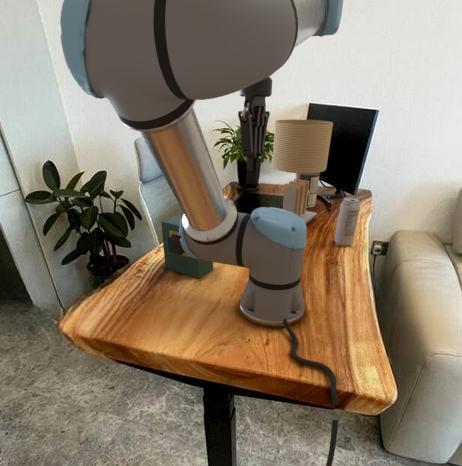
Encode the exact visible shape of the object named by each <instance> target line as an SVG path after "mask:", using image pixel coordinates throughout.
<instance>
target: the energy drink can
mask: <svg viewBox="0 0 462 466" xmlns="http://www.w3.org/2000/svg"><path fill="white" fill-rule="evenodd" d="M360 209H361V204H360V199H358V198H356V197H344V198H343V200H342V202H341V203H340V206H339V212H338V218H337V222H336V228H335V235H334V242H335V245H337V246H340V247H350V246H351V244H353V243H354V238H355V233H356V228H357V223H358V218H359V214H360Z"/></svg>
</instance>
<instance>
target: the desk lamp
mask: <svg viewBox="0 0 462 466" xmlns="http://www.w3.org/2000/svg"><path fill="white" fill-rule="evenodd" d="M274 122H275V123H274V137H273V150H272V151H273V152H272V164H271V167H272V168H273V169H274V170H277V171H279V172H285V173H289V174H295V178H294V179H293V180H290V181H289V182H288V183H284V190H283V200H282V209H284V210H287V211H290V212H293V213H295V214H297V215H298V216H299V217H301V218H302V219H303V220H304V222H305V224H306V225H307V224H308V223H310V222H311V221H312V220H314V217H315V216H317V215H318V213H317V212H314V211H308V210H307V208H306V204H307V196H308V189H309V181H306V180H299V179H300V173H319V172H320V173H323V172H325V171H326V170H327V168H328V167H327V166H328V161H329V160H328V159H329V153H330V146H331V139H332V133H333V126H334V122H332V121H328V120H319V119H278V120H275V121H274ZM296 173H297V174H296Z"/></svg>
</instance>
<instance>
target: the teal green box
mask: <svg viewBox="0 0 462 466" xmlns="http://www.w3.org/2000/svg"><path fill="white" fill-rule="evenodd" d="M182 216H183V215H180V214H176V215H173V216H171V217H168V218H166V219H163V220H161V221H160V224H161V225H160V226H161V237H162V247H163V256H164V267H165V269H167V270H171V271H172V272H173V271H174V272H177V273H180V274H183V275H187V276H189V277H193V278H197V279H201V278H202V277H204V276H205V275H206V274H208V273H209V272H211V271H213V270H214V262H210V261H201V260H198V259H196V258H192V257H190V256H189V255H187V254H186V252H185V253H183V254H181V255H178V254H175V253H171V252H169V251H168V239H167V238H168V237H170V236H173V235H178V236H180V235H179V227H180V222H181V219H182Z"/></svg>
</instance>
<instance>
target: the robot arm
mask: <svg viewBox="0 0 462 466" xmlns="http://www.w3.org/2000/svg"><path fill="white" fill-rule="evenodd" d="M343 6H344V0H63V1H62V5H61V10H60V18H59V19H60V20H59V24H60V44H61V48H62V53H63V57H64V60H65V63H66V67H67V69H68V71H69V74H70V75H71V77H72V79H73V81H74V82H75V84H76V85H77V86H78V87H79V89H80V90H81V91H82V92H84V93H85V94H87V95H89V96H92V97H93V98H95V99H100V100H101V99H107V100H108V101H109V103H110V105H111V107H112V109H114V111H115V112H116V114H117V116H118V118H119V120H120V121H121V122H122V124H123V125H124V126H125V127H126V128H129V129H131V130H133V131H136V132H139V133H140V135H141V137H142V139H143V140H144V143H145V144H146V147H147V148H148V150H149V152H150V154H151V156H152V157H153V159H154V161H155V163H156V164H157V166H158V168H159V170H160V172H161V174H162V176H163V178H164V179H165V181H166V183H167V185H168V187H169V188H170V190H171V192H172V194H173V196H174V198H175V200H176V201H177V203H178V205H179V207H180V209H181V211H182V213H183V214H182V215H181V216H182V219H181V222H180V227H179V235H180V236H181V239H180V242H181V245H182V248H183V250H184V251H185V252H186V254H187V255H189V256H190V257H192V258H196V259H198V260H201V261H210V262H213V263H215V264H222V265H228V266H235V267H241V268H245V269H248V280H247V282H246V285H245V287H244V289H243V292H242V294H241V297H240V300H239V312H240V315H242V317H243V318H244V319H246V320H247V321H248V322H250V323H252V324H254V325H256V326H260V327H264V328H272V329H277V328H278V329H279V328H285V329H286V331H287V333H288V334H289V336H290V338H291V340H292V347H291V350H290V355H291V357H292V358H293V359H294V361H296V362H297V363H299V364H301V365H305V366H310V367H314V368H317V369H320V370H323V371H324V372H325V373H326V374H327V375H328V376H329V380H330V397H331V403H332V405H333V406H338V404H339V401H338V390H337V386H338V385H337V377H336V375H335V373H334V372H333V370H332V369H331V368H330V367H328V365H326V364H324V363H322V362H319V361H316V360H315V361H314V360H310V359H306V358H302V357H301V356H299V355H298V354H297V349H298V344H299V341H298V338H297V336H296V334H295V332H294V330H293V328H292V326H293V325H296V324H297V323H299V322H300V321H301V320H302V319H303V317H304V316H305V315H304V314H305V309H306V304H305V300H304V295H303V289H302V286H301V277H302V273H303V272H302V271H303V263H304V258H305V257H304V256H305V249H306V246H307V229H308V228H307V224H305V222H304V220H303V219H302V218H301V217H299V216H298V215H297V214H295V213H293V212H290V211H287V210H284V209H283V208H280V207H273V206H269V207H267V206H260V207H257V208H254V209H253V210H252V212H251V213H244V212H238V211H237V206H236V205H235V202H234V201H233V200H232V199H231V198H229V197H228V196H227V195H224V192H223V189H222V186H221V183H220V180H219V177H218V174H217V171H216V168H215V165H214V163H213V160H212V156H211V153H210V151H209V148H208V145H207V142H206V139H205V135H204V134H203V130H202V127H201V125H200V120H199V118H198V116H197V113H196V109H195V107H194V105H195V104H196V102H197V101H205V100H211V99H217V98H221V97H225V96H228V95H230V94H234V93H236V92H239V96H240V97H244V102H243V110H238V112H237V116H238V121H239V126H240V141H241V152H242V153H241V154H242V156H243V157H244V158H245V157H246V172H245V173H246V176H245V177H246V178H245V184H248V185H259V173H260V171H259V170H260V157H264V151H265V143H266V136H267V128H268V123H269V118H270V115H271V114H270V111H268V110H266V108H267V106H266V105H267V104H266V98H269V97H272V93H273V79H272V78H271V76H273V75H274V73H276V72H277V71H278V70H280V69H281V68H282V67H283V66H284V65H285V64H287V62H288V60H289V59H290V58H291V55H292V54H293V52H294V50H295V48H296V47H297V46H299V45H301V44H302V43H304V42H305V41H307V40H308V39H309V38H311V37H321V38H323V37H325V36H333V35H336V33H337V32H338V31H339V29H340V25H341V20H342V15H343ZM338 429H339V420H338V419H331V432H330V441H329V450H328V454H327V459H326V464H325V466H333V462H334V458H335V452H336V446H337V438H338Z"/></svg>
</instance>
